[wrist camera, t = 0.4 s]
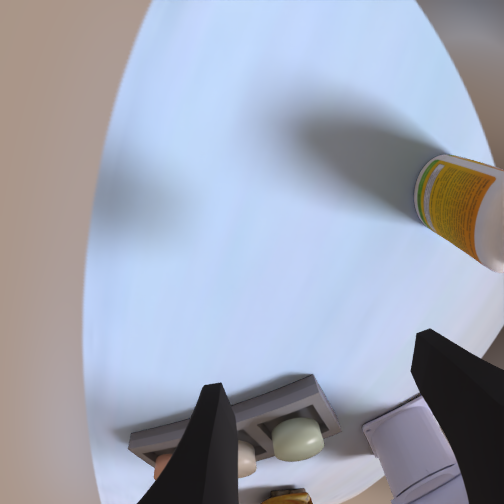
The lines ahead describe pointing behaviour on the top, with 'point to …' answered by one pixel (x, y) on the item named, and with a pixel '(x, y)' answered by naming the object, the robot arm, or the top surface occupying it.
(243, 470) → the ivory button
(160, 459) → the terracotta button
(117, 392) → the top surface
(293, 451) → the sage button
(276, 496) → the decorative figurine
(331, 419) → the panel
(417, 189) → the supplement bottle
